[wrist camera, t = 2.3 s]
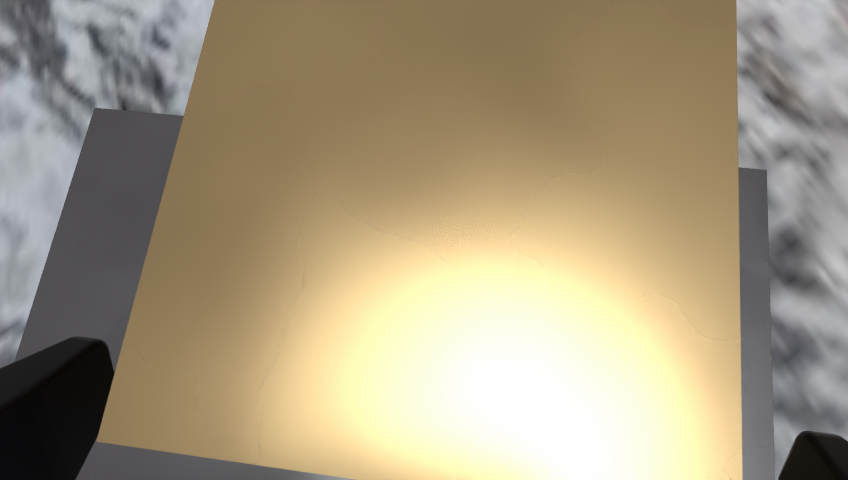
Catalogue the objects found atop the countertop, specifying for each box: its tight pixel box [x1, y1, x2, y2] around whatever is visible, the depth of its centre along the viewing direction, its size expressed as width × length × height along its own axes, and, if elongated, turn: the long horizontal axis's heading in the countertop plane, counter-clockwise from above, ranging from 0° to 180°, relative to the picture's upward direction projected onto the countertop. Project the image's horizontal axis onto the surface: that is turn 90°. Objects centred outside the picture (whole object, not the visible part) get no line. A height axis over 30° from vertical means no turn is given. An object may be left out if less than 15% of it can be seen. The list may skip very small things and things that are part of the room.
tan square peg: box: [96, 0, 742, 480], centre depth 12 cm, size 5×5×12 cm
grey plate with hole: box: [15, 108, 775, 480], centre depth 17 cm, size 12×20×1 cm, turn 82°
